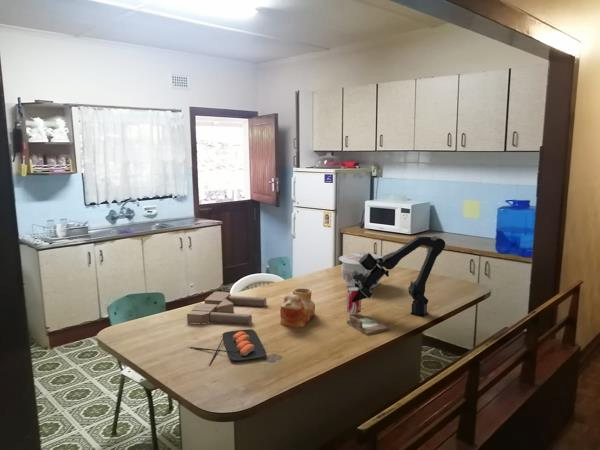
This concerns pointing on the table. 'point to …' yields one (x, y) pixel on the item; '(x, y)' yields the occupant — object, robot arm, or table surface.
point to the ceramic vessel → (297, 308)
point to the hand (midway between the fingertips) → (350, 299)
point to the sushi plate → (241, 345)
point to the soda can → (353, 306)
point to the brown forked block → (223, 309)
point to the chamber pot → (354, 267)
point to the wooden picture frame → (367, 325)
